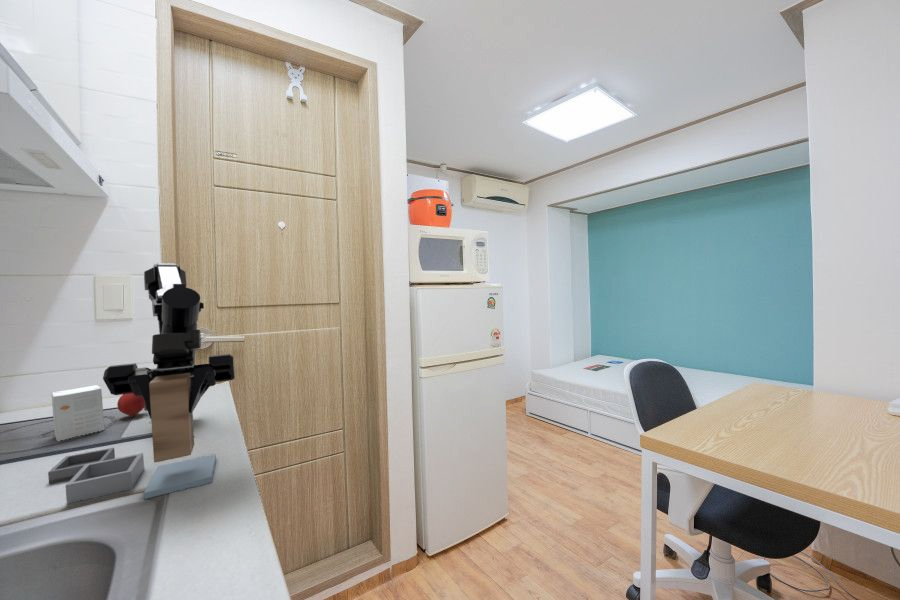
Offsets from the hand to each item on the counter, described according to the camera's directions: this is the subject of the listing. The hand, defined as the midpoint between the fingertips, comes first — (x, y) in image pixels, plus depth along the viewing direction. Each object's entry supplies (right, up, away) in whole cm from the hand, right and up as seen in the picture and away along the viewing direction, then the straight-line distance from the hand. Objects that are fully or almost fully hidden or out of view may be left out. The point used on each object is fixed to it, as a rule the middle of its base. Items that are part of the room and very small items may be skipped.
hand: (171, 414), depth 62 cm
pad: (+1, -12, +2) cm, 12 cm away
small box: (-40, -12, +24) cm, 48 cm away
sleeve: (-11, -12, 0) cm, 16 cm away
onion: (-37, -12, +35) cm, 52 cm away
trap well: (-21, -12, +6) cm, 25 cm away
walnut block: (-1, -7, +2) cm, 7 cm away
